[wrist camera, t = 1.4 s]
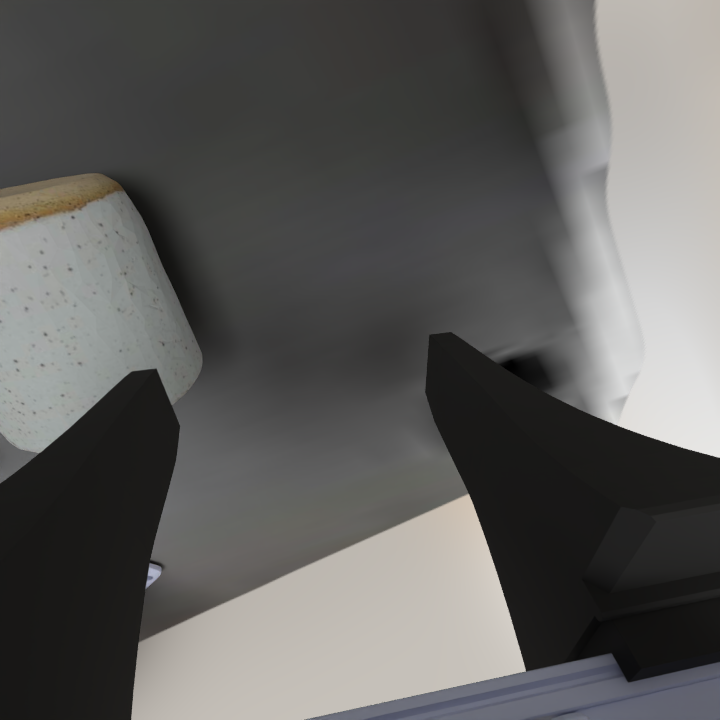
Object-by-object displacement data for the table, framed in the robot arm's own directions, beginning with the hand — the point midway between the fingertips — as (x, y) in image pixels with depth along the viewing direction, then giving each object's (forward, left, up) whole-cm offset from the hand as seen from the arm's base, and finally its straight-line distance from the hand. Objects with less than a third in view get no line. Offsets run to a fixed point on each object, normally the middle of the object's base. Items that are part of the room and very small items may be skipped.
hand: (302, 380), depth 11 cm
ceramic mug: (-7, +6, -11) cm, 14 cm away
